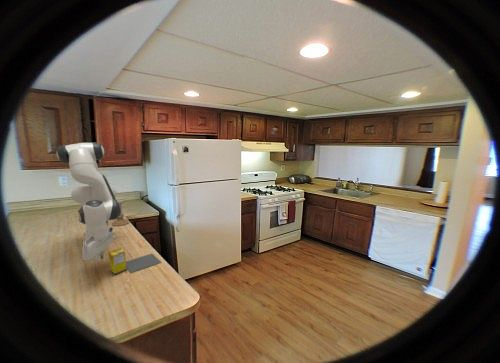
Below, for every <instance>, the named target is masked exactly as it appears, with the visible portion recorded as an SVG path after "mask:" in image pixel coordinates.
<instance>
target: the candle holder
mask: <svg viewBox="0 0 500 363" xmlns="http://www.w3.org/2000/svg"><path fill="white" fill-rule="evenodd" d="M116 200H117V202H118V204H119V206H120V208H121V214H120V216H119V217H118V218H117V219H116V220H114V221H113V222H112V223H111V226H112V227H122V226H126V225H128V224H129V220H128V219H124V216H125V215H124V211H123V206H122V204H123V203H125V202H126V201H127V200H126V199H116Z"/></svg>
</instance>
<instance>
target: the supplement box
mask: <svg viewBox="0 0 500 363" xmlns="http://www.w3.org/2000/svg"><path fill="white" fill-rule="evenodd" d="M125 252H126V251H125V250H124V249H122V248H117V249H114V250H111V251H108V261H109V268H110V270H109V271H110V272H111V274H113V275H114V276H115V275H119V274H121V273H123V272H125V271H127V268H126V253H125Z"/></svg>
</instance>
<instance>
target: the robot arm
mask: <svg viewBox="0 0 500 363" xmlns="http://www.w3.org/2000/svg"><path fill="white" fill-rule="evenodd" d="M104 156H105V149H104V147H103V145H102V144H101V143H100V142H79V143H78V142H77V143H73V144H72V143H71V144H68V145H66V144H63V145H59V146H58V147H57V148H56V157H57V159H58V160H59V161H60V162H61V163H62V164H67V165H68V166H69V170H70V175H71V177H72V180H74V181H76V182H78V183H80V184H83V185H82V186H78V187H74V188H73V189H72V190H71V192H70V193H71V194H70V195H71V196H70V197H71V199H72V200H73V201H74V202H76V203H78V204H79V205H80V206H81V207H80V208H78V210H77V212H78V222H79V223H82V224H84V225H86V226H85V232H83V241H82V250H81V251H82V253H81V254H82V260H83V261H92V260H94V258H96V261H97V262H101V261H102V260H103V259H104V254H105V249H107V248H108V247H109V246H110V245H112V244H113V242H114V239H115V238H116V236H115V235H114V232H113V231H114V226H109V221H113V220H114V221H116V220H117V218H118V217H119V216H120V214H121V208H120V206H119V204H118V202H117V200H118V199H116V196H117V190H116V188H115V187H114V186H112V185H110V183H109V181H108V179H107V177H106V176H105V175H104V174H102V173H100V171H99V166H98V163H97V161H99V160H102V159H103V158H104Z"/></svg>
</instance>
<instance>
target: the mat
mask: <svg viewBox="0 0 500 363" xmlns="http://www.w3.org/2000/svg"><path fill="white" fill-rule="evenodd" d="M161 263H162V261H161V260H160V259H158V257H157V256H156V255H155V254H153V253H149V254H146V255H142V256H139V257H136V258H134V259H131V260H129V259H128V260H127V261H126V270H127V271H128V272H129V273H130V274H132V273H136V272H139V271H142V270H145V269H147V268H150V267H152V266H156V265H158V264H161Z"/></svg>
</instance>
